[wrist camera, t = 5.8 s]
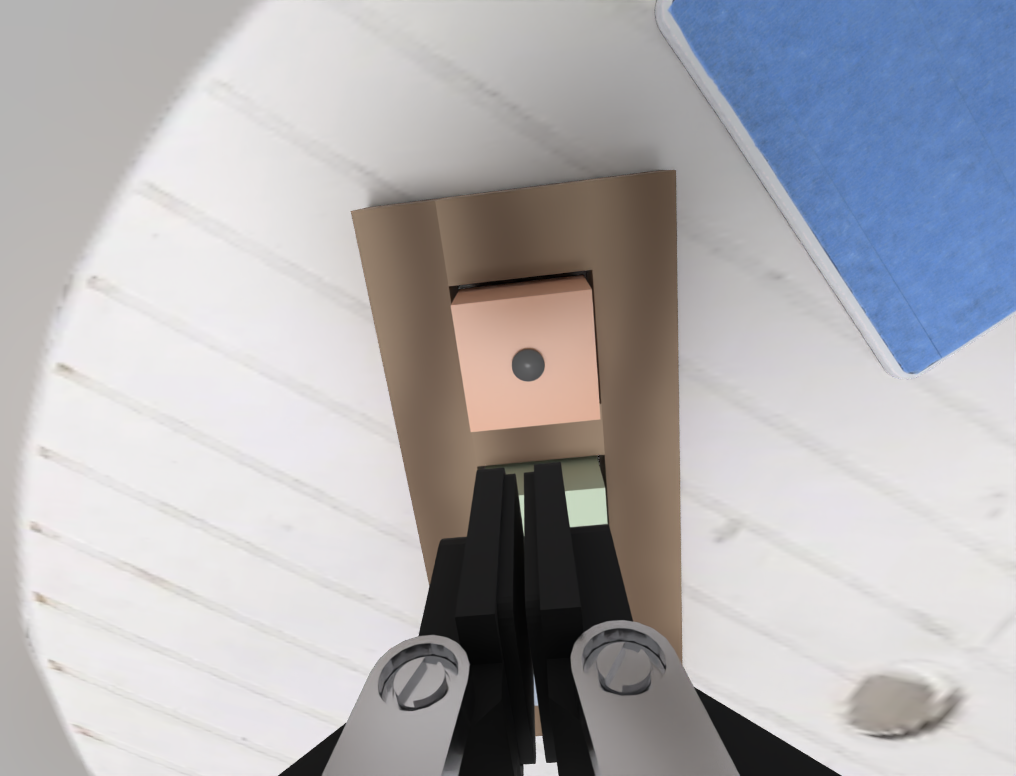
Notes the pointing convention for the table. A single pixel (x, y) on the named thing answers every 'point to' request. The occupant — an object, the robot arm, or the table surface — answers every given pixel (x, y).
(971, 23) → the blue rectangular pad
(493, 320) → the button one dot
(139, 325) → the table surface
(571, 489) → the button two dots
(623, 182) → the button board
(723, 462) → the table surface
